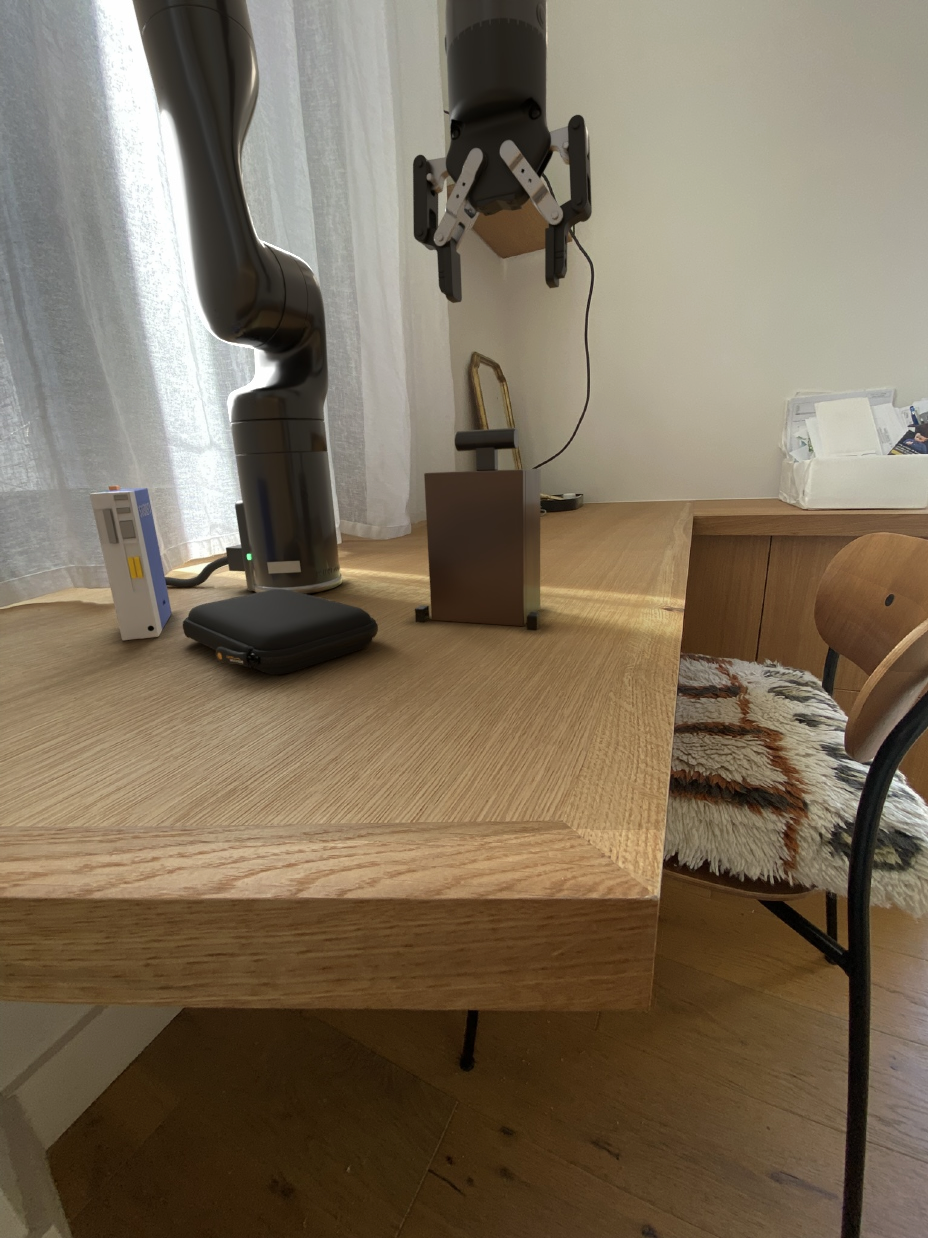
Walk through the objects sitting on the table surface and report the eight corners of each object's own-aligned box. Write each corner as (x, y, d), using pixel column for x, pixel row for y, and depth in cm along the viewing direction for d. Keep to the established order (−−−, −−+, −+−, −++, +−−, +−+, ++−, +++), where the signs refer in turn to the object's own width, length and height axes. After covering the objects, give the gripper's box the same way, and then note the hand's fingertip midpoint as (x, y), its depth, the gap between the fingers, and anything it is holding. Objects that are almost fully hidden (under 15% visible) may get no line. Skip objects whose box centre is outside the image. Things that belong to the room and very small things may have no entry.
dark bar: (415, 622, 47) (414, 608, 46) (421, 618, 48) (420, 605, 47) (536, 631, 43) (536, 616, 43) (540, 626, 44) (540, 612, 44)
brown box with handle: (522, 423, 40) (540, 427, 45) (421, 429, 43) (449, 433, 48) (523, 626, 44) (540, 608, 49) (431, 620, 47) (456, 604, 52)
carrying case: (163, 646, 43) (253, 694, 33) (155, 608, 42) (245, 646, 32) (287, 615, 50) (391, 647, 41) (283, 582, 50) (388, 607, 40)
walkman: (139, 617, 52) (111, 485, 49) (172, 613, 53) (146, 483, 49) (120, 641, 45) (85, 489, 41) (158, 637, 46) (128, 487, 42)
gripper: (600, 54, 43) (594, 292, 47) (430, 103, 48) (439, 314, 52) (584, -20, 36) (580, 266, 40) (388, 46, 41) (404, 294, 45)
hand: (501, 293), depth 46 cm, fingers open, 8 cm apart
